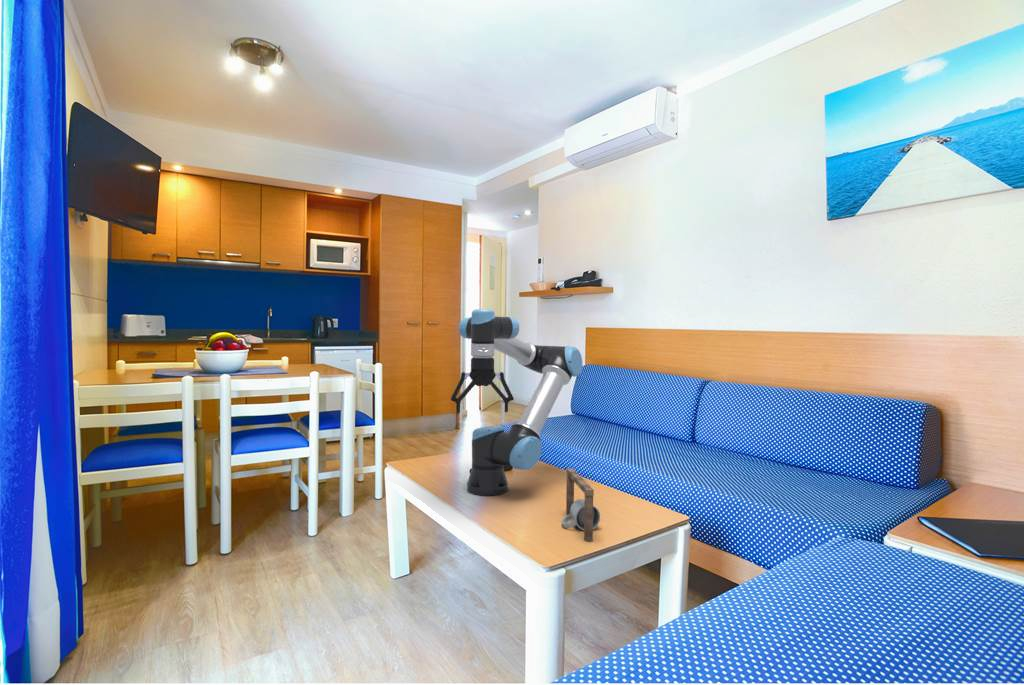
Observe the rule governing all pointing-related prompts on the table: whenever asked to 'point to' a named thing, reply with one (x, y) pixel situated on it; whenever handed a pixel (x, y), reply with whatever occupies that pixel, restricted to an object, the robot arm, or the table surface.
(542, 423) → the robot arm
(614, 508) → the table surface
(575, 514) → the ceramic mug
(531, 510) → the table surface
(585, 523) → the walnut gate
